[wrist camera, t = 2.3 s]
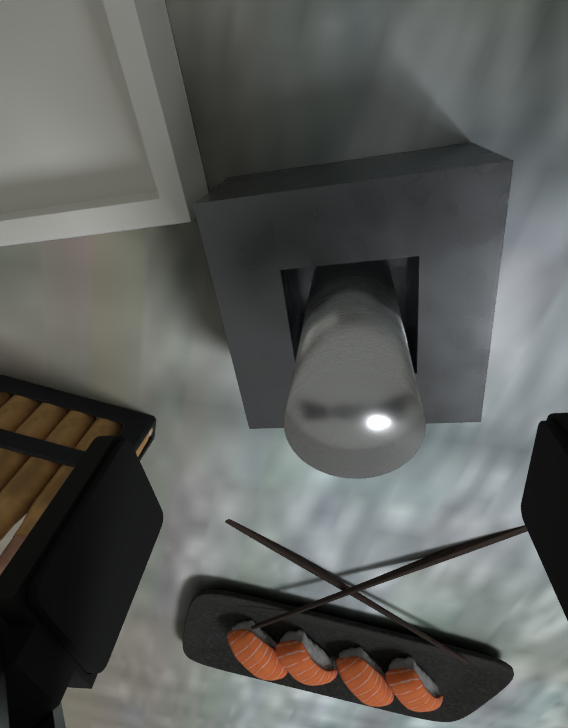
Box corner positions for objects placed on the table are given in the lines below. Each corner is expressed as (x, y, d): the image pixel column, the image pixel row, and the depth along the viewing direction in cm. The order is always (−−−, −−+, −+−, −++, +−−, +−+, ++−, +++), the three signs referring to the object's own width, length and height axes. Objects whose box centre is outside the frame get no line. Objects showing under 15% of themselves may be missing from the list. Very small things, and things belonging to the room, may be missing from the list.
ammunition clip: (157, 417, 27) (44, 611, 17) (155, 437, 28) (47, 632, 18) (-9, 371, 27) (-224, 542, 17) (-5, 394, 28) (-205, 567, 18)
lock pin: (391, 240, 18) (428, 367, 10) (392, 316, 20) (423, 478, 12) (307, 249, 19) (274, 375, 10) (316, 322, 21) (293, 478, 12)
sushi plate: (184, 639, 45) (172, 681, 41) (222, 438, 28) (206, 483, 25) (450, 705, 45) (458, 751, 42) (643, 544, 28) (680, 602, 25)
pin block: (471, 142, 17) (513, 160, 12) (455, 358, 22) (480, 421, 18) (227, 177, 18) (192, 203, 14) (266, 369, 24) (249, 428, 20)
